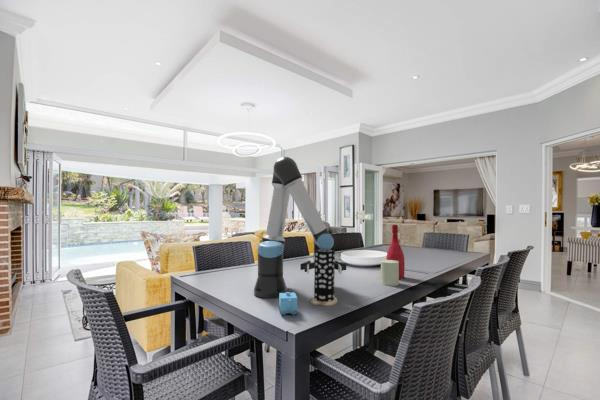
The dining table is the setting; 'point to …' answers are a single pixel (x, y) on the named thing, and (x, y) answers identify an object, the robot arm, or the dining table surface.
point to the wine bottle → (396, 251)
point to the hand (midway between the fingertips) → (324, 270)
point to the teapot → (288, 303)
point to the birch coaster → (321, 303)
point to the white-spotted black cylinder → (324, 275)
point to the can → (389, 272)
